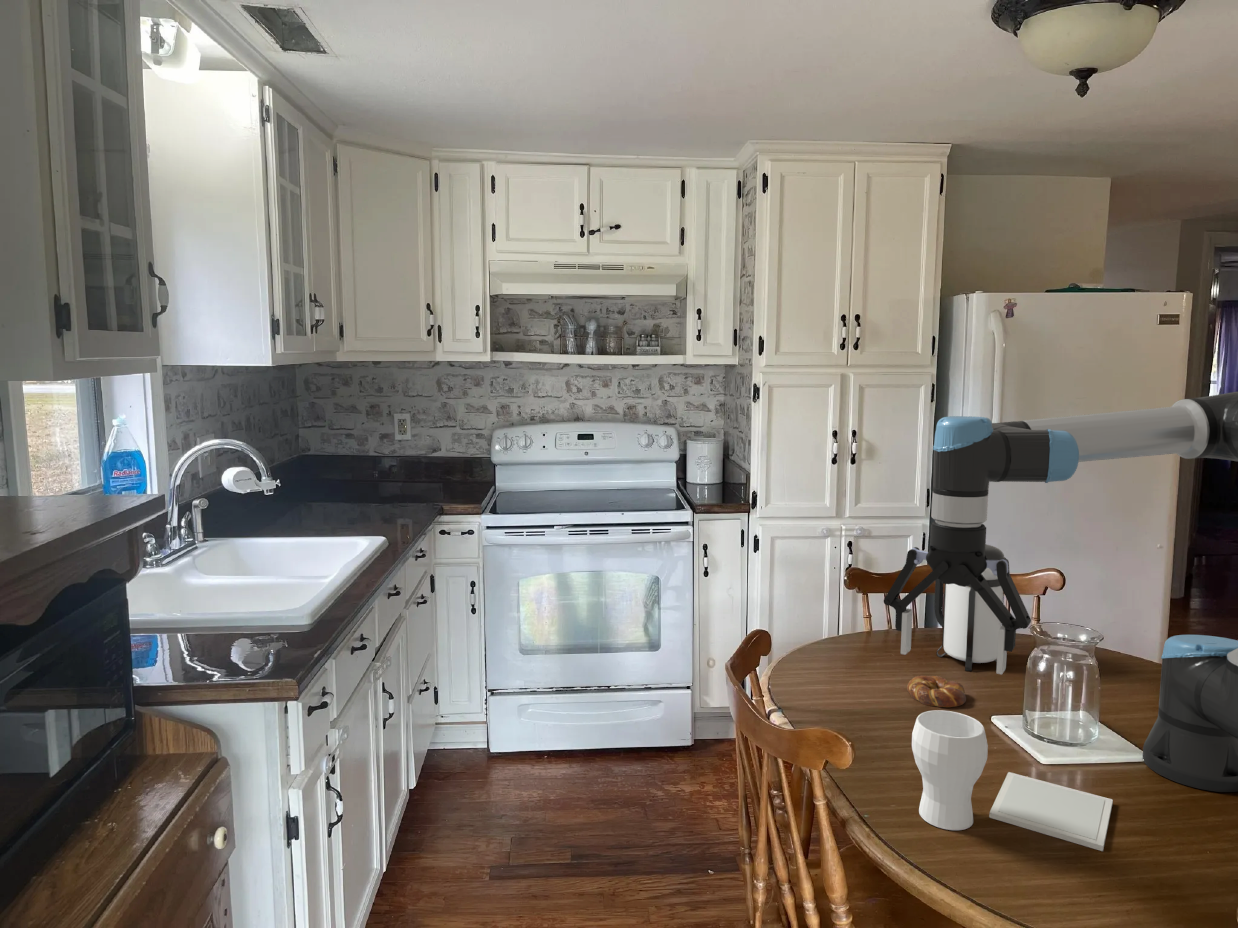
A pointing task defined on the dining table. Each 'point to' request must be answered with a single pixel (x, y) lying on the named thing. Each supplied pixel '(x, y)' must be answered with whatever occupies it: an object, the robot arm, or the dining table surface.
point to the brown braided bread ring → (936, 691)
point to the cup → (948, 766)
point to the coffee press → (969, 618)
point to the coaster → (1053, 810)
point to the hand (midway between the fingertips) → (951, 661)
